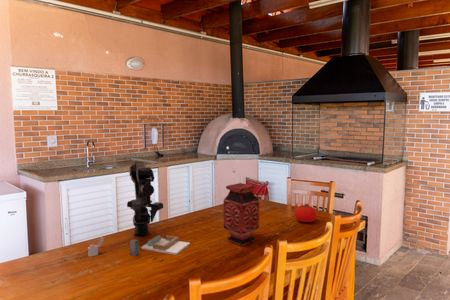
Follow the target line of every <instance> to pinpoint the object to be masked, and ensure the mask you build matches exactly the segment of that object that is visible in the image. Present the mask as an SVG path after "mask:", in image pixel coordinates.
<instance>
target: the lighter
mask: <svg viewBox="0 0 450 300" xmlns="http://www.w3.org/2000/svg"><path fill="white" fill-rule="evenodd" d="M104 240H105V238H104V237H102V236H100V238H99V239H98V242H97V244H90V245H89V246H88V247H87V253H88V254H87V255H88V257H89V258H91V257H95V256H98V255H99V248H101V246H102V244H103V242H104Z"/></svg>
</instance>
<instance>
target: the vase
mask: <svg viewBox="0 0 450 300" xmlns="http://www.w3.org/2000/svg"><path fill="white" fill-rule="evenodd" d="M225 189H226V190H229V192H228V194H227V195H226V196H225V197H224V198H223V209H222V211H223V212H222V213H223V216H222V217H223V228H224V229H225V230H226V231H227V232H228V233H229V234H230V236H229V237H228V238H227V241H228V242H230V243H232V242H233V243H232V244H235V245H238V246H240V247H243V246H245V245H248V244H250V243H254V242H255V241H256V237H254V236H253V234H254V232H255V231H256V230H258V229H259V228H260V199H259V198H258V197H257V196H256V195H255V194H254V192H253V191H252V190H254V189H256V186H255V185H253V184H252V185H251V184H246V183H242V182H239V183H234V184H229V185H226V186H225Z"/></svg>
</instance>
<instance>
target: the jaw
mask: <svg viewBox="0 0 450 300" xmlns="http://www.w3.org/2000/svg"><path fill="white" fill-rule="evenodd" d="M161 238H162V236H161V235H157V236H155V237H153V238H152V239H149V240H148V241H147V243H148V246H151V245H152V244H154V243H155V242H157V241H159V240H160V239H161Z"/></svg>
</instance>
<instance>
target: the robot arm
mask: <svg viewBox="0 0 450 300" xmlns="http://www.w3.org/2000/svg"><path fill="white" fill-rule="evenodd" d="M151 168H152V167H150V166H146V165H145V163H144V161H142V160H141V161H137V160H136V161H134V162H133V164H132V165H131V166H130V167H129V172H128V174H129V177H130V179H131V180H130V181H132V182H133V184H134V195H135V198H134V199H131V200H129V201H127V203H126V207H127V208H130V210H132V211H134V213H133V216H132V224H133V227H134V234H133V236H136V237H141V238H144V237H145V236H147V235H149V234H150V232H149V225H150V223H153V222H154V219H155V216H156V214H157V213H158V211H161V210H162V209H163V208H164V204H163V202H160V201H159V202H158V201H156V202H154V203H153V200H152V199H151V196H152V195H153V194H154V192H155V188H154V186H153V184H152V182H153V183H154V180H155V174H154V171H153V169H151ZM148 208H150V209H148Z"/></svg>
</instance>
